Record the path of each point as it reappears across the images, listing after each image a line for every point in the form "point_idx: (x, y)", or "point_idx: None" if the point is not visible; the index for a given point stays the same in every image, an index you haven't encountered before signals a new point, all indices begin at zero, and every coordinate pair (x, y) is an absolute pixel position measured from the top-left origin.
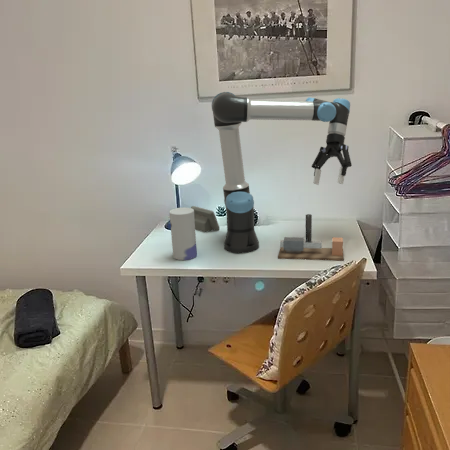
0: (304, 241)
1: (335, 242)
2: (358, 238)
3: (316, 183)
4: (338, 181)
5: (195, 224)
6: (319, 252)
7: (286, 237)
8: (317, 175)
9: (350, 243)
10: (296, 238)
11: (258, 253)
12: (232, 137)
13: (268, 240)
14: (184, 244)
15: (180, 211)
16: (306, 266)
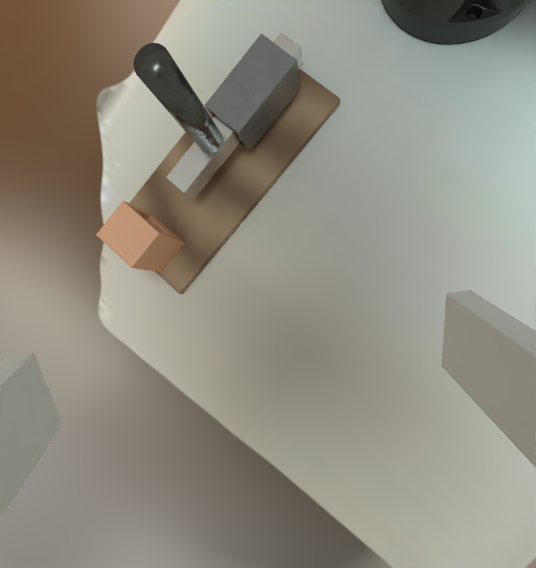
0: (221, 126)
1: (117, 211)
2: (248, 440)
3: (446, 329)
4: (9, 363)
5: None
6: (200, 193)
7: (286, 65)
8: (532, 395)
9: (224, 371)
10: (248, 97)
11: (350, 5)
12: None
13: (462, 111)
14: None
15: None
16: (149, 96)
